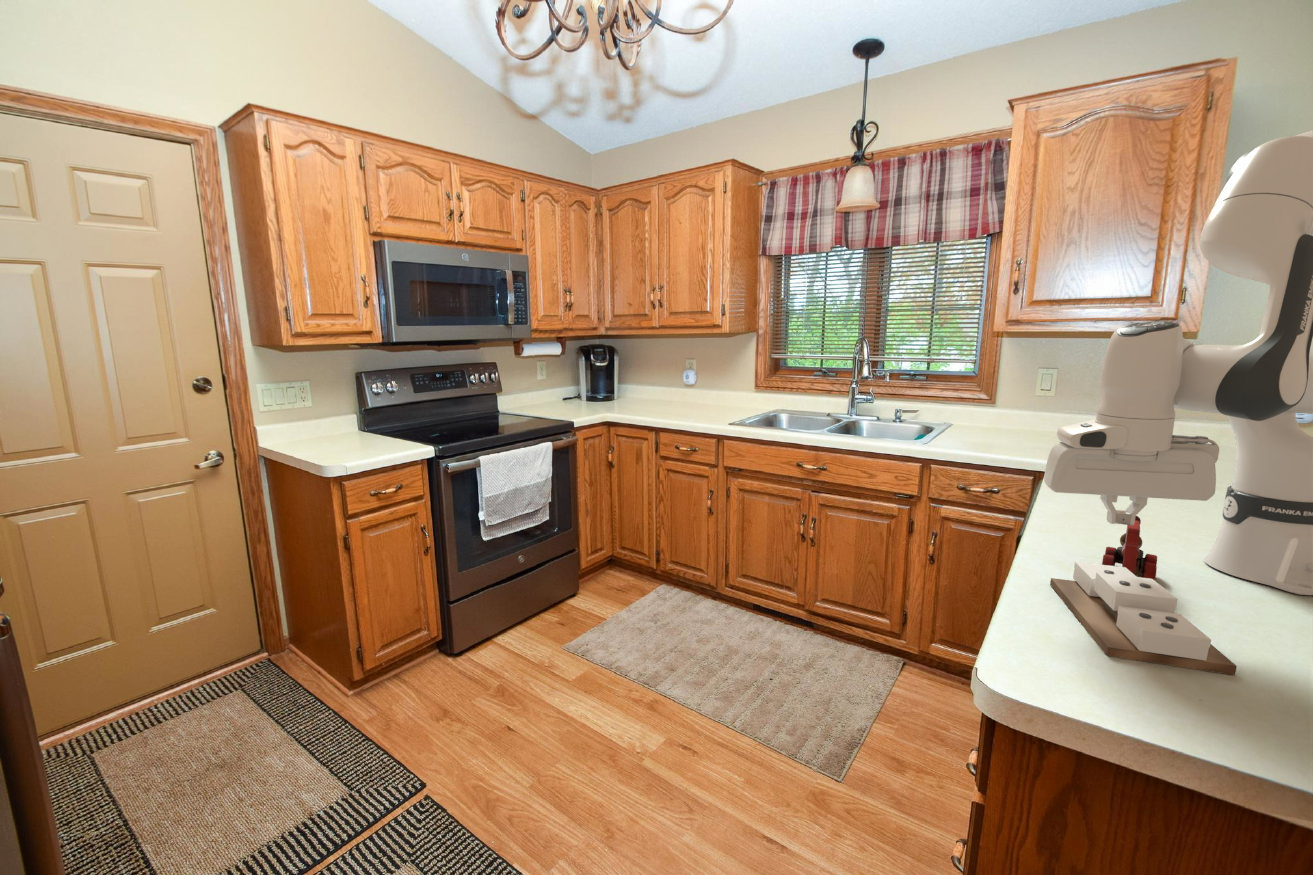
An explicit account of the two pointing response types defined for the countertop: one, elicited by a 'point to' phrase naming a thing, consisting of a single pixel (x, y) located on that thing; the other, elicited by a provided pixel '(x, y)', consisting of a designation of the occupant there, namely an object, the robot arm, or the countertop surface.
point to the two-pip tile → (1133, 593)
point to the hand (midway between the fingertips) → (1119, 523)
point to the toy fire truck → (1132, 554)
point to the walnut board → (1114, 641)
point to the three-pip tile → (1163, 633)
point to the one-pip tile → (1087, 575)
